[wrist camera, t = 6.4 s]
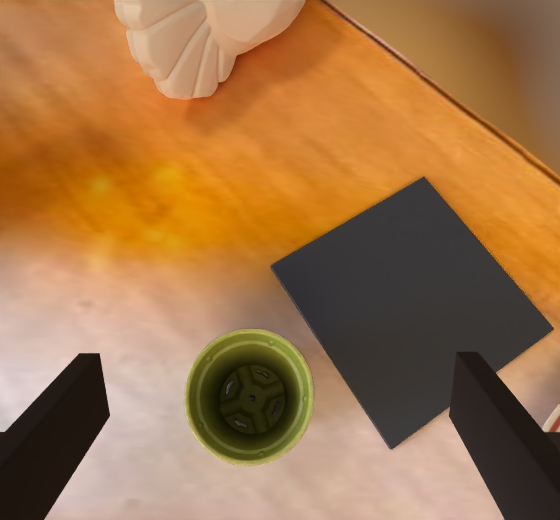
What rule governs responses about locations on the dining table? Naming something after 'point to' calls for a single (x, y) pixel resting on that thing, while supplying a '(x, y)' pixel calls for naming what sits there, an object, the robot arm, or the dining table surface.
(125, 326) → the dining table surface
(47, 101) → the dining table surface
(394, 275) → the placemat
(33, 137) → the dining table surface
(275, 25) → the decorative rooster
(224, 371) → the plant pot
